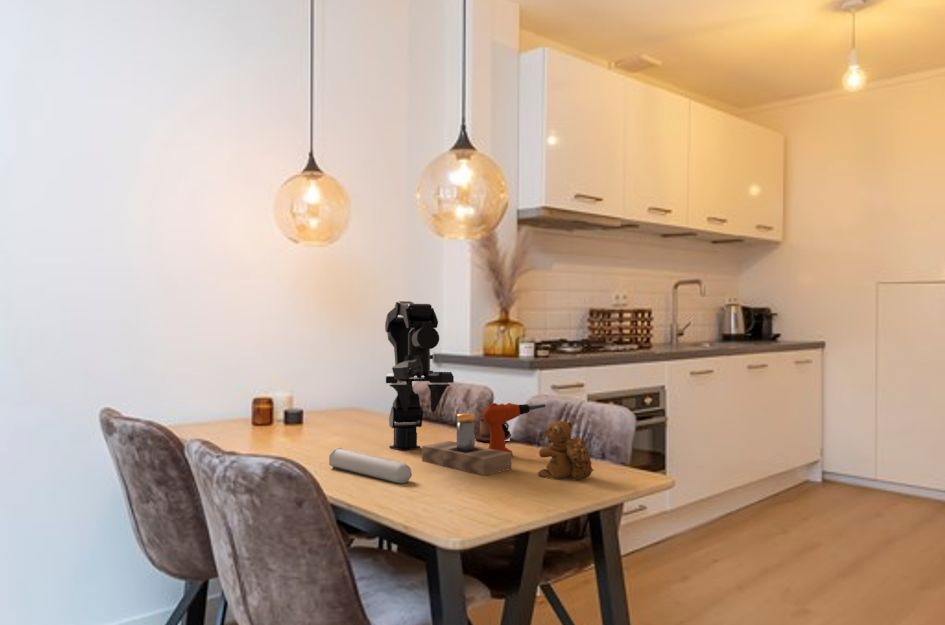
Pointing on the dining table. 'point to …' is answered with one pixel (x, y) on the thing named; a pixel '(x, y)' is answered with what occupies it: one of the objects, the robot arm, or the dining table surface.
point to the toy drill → (503, 421)
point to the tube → (370, 465)
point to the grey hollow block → (467, 458)
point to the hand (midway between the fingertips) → (419, 411)
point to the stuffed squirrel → (565, 454)
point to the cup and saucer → (486, 432)
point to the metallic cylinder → (465, 432)
